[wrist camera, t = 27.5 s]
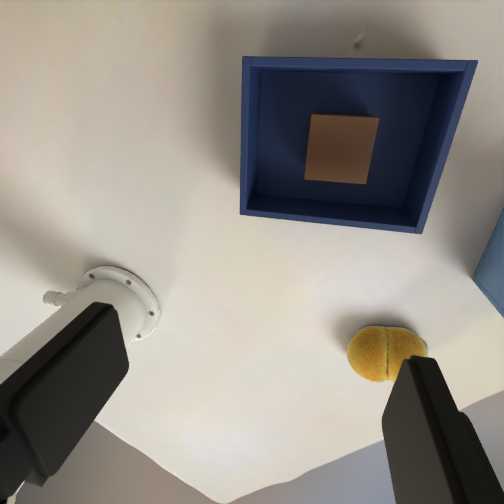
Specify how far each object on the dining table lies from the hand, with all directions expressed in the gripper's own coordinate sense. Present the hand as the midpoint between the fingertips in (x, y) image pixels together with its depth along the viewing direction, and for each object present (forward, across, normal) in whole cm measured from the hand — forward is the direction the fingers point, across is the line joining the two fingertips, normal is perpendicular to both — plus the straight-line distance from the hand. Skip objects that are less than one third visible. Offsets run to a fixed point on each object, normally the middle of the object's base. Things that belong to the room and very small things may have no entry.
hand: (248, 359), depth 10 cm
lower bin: (+24, -3, -4) cm, 25 cm away
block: (+24, -3, -4) cm, 24 cm away
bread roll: (+24, -13, +20) cm, 34 cm away
